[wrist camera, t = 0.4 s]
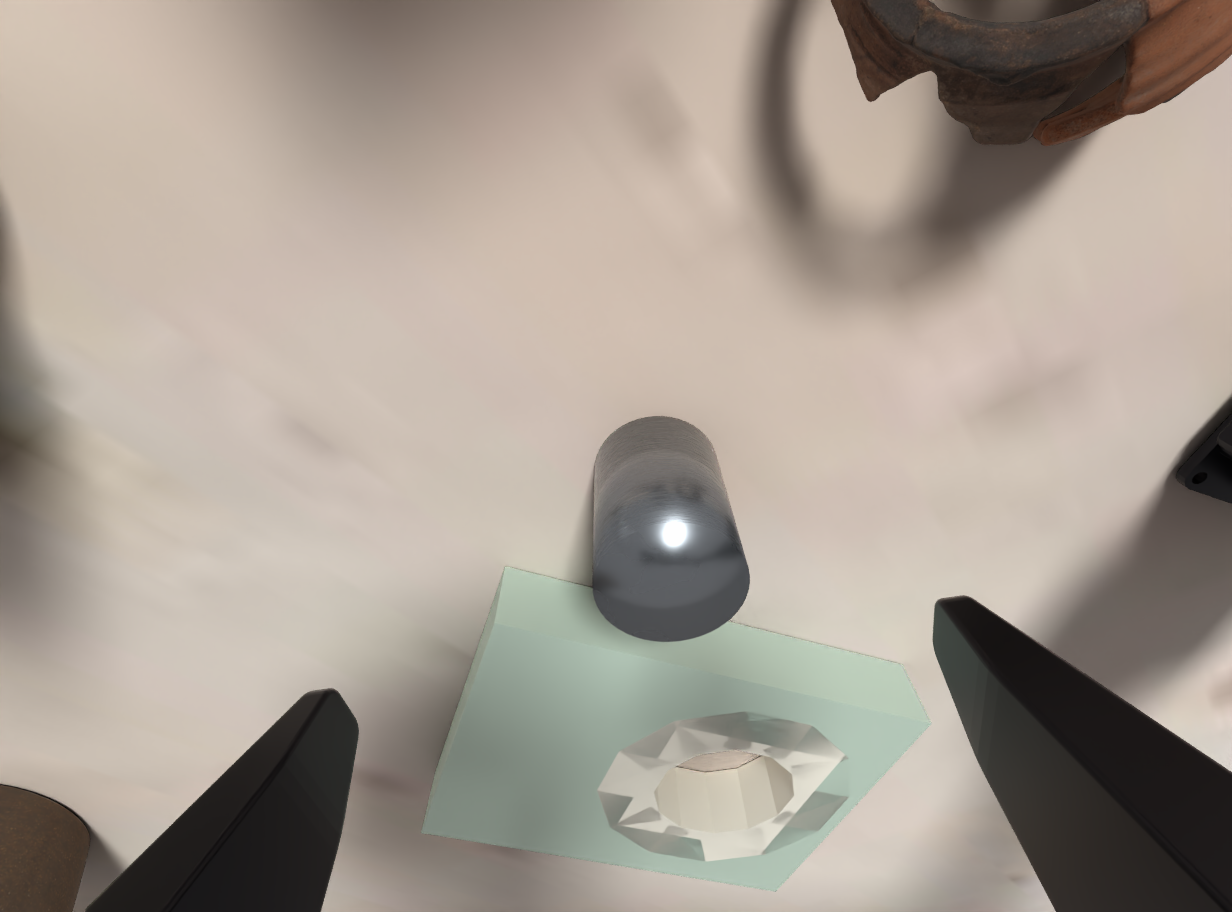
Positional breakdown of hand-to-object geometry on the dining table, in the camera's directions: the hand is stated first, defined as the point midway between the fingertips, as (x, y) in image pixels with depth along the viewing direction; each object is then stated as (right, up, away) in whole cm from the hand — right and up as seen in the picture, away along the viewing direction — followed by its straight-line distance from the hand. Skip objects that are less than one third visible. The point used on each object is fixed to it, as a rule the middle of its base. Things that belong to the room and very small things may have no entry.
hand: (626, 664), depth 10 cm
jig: (+2, -9, +21) cm, 23 cm away
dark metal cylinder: (+1, +3, +14) cm, 14 cm away
